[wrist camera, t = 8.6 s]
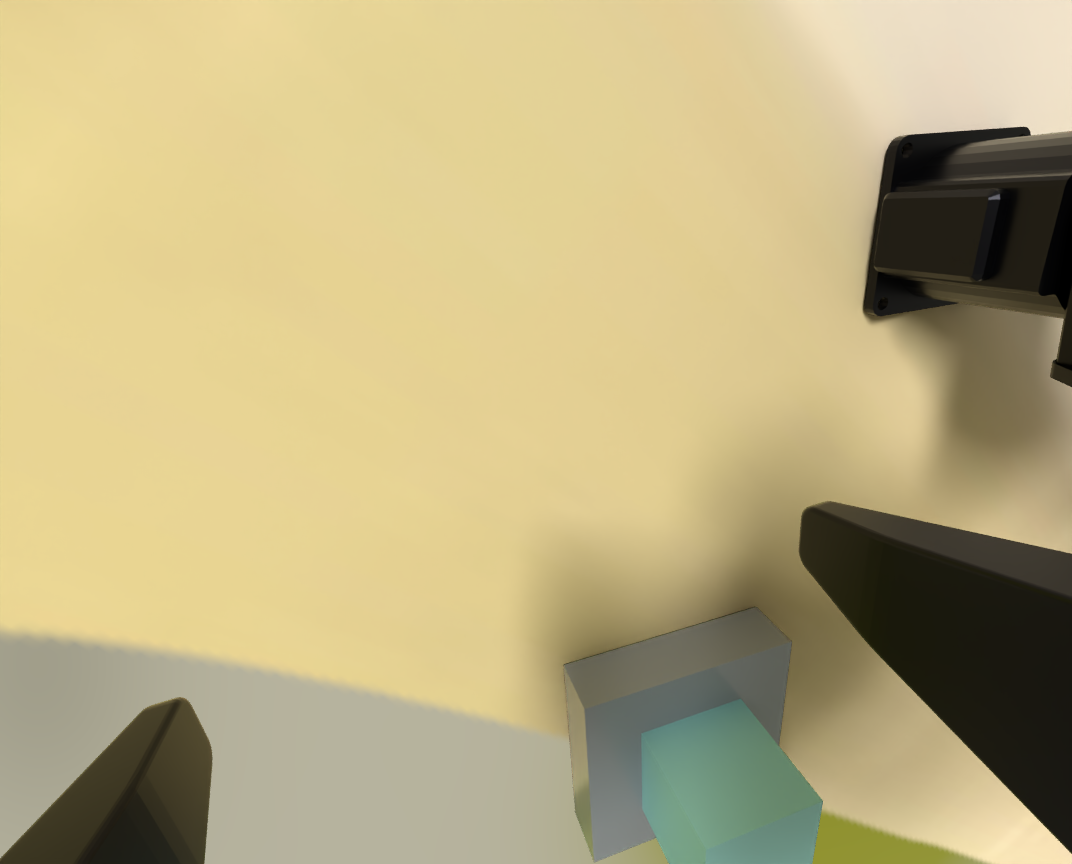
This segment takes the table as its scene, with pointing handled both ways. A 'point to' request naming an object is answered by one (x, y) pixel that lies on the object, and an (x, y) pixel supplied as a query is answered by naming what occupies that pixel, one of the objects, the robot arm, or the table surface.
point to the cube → (726, 792)
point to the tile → (661, 710)
